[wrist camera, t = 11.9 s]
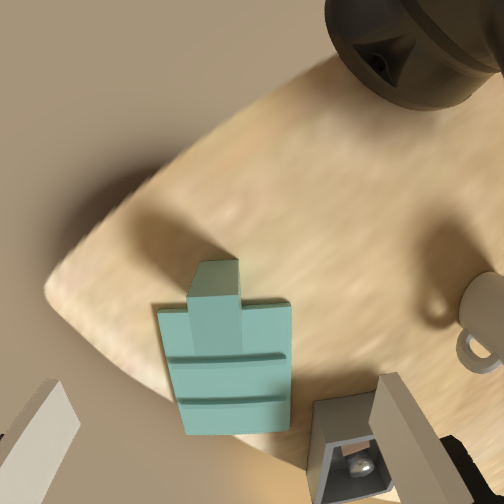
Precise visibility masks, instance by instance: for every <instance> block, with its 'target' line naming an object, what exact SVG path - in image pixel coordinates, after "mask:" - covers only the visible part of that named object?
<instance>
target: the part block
mask: <svg viewBox="0 0 504 504" xmlns="http://www.w3.org/2000/svg"><path fill="white" fill-rule="evenodd" d="M368 447H370V444H369V440H368V441H363V442H359V443H354V444H349V445H344V446H340V448H341V451H342V454H343V456H346V455H349V454H352V453H355V452H358V451H360V450H363V449H366V448H368Z"/></svg>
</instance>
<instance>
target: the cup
mask: <svg viewBox="0 0 504 504" xmlns="http://www.w3.org/2000/svg"><path fill="white" fill-rule="evenodd" d="M459 321H460V324H461V326H462V328H463V330H462V332H461V333H460V335H459V337H458V339H457V344H456V352H457V357H458V358H459V360H460V362H461V363H462V364H463V365H464V366H465V367H466V368H467V369H468V370H470V371H472V372H474V373H479V374H487V373H491V372H493V371H495V370H496V369H498V368H499V367H500V366H501V365H502V364H503V365H504V276H502V275H500V274H498V273H495V272H490V271H489V272H485V273H482V274H480V275H479V276H477V277H476V278H475V279H474V280H473V281H472V282H471V283H470V284H469V286H468V287H467V288H466V290H465V292H464V294H463V296H462V299H461V302H460V307H459ZM473 339H475V340H476V341H477V342H479V343H480V344H481V345H482V346H483V347H484V348H485V349H486V350H488V351H489V352H490V353H491V355H490V356H489V357H487V358H480V357H478V356H477V355H476V354H474V353H473V351H472V350H471V348H470V346H469V345H470V343H471V341H472V340H473Z"/></svg>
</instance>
